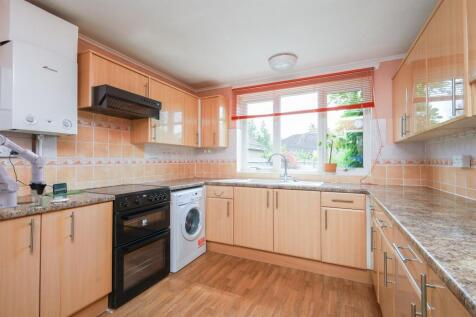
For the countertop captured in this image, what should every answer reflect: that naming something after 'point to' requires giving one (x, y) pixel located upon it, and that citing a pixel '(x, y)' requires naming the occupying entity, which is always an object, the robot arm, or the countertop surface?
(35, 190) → the grey square block
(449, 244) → the countertop surface
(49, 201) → the cream round disc
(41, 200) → the block
